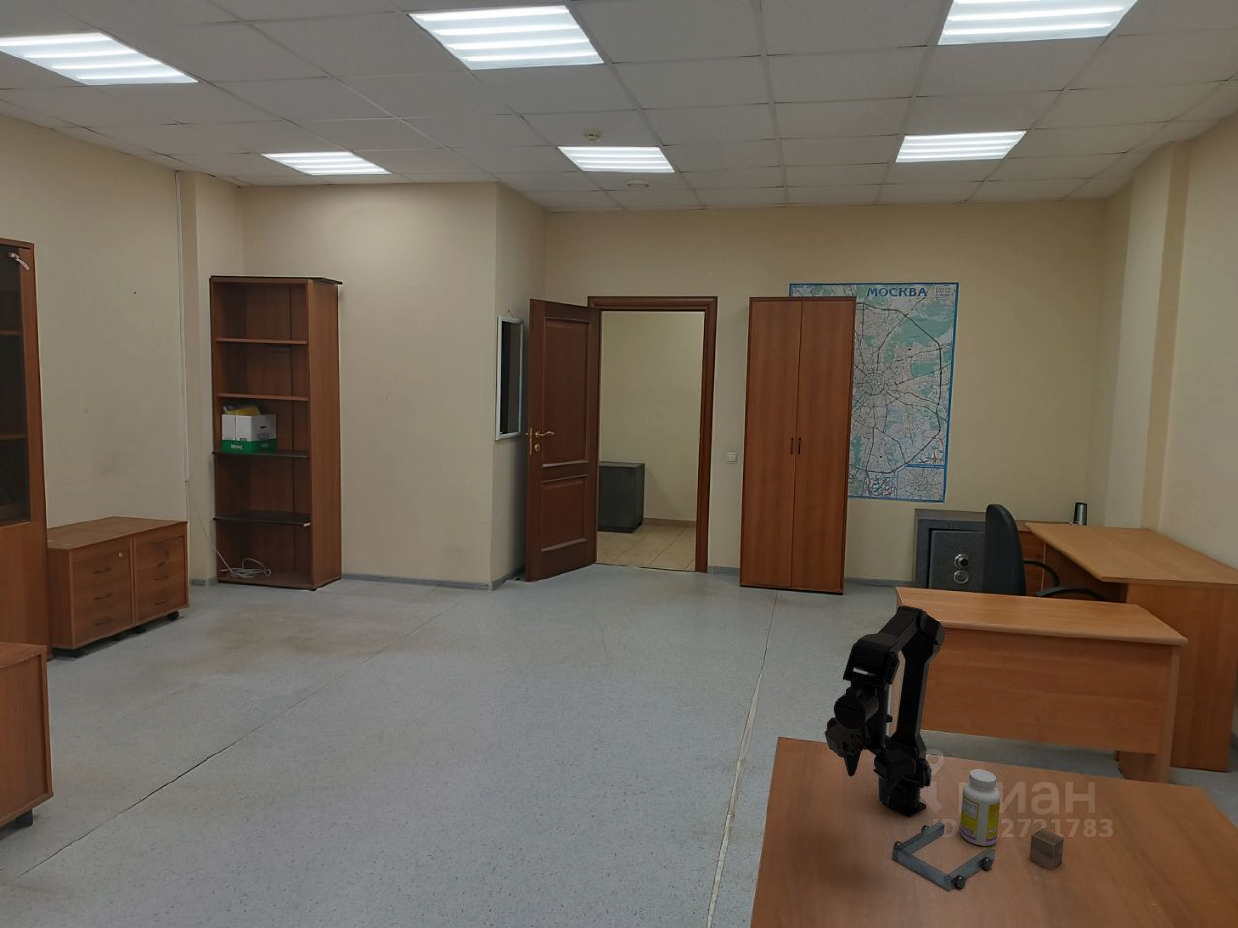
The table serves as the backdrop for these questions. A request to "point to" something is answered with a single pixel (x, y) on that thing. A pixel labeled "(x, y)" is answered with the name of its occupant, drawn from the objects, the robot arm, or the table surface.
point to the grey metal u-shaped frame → (947, 881)
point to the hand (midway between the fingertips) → (866, 788)
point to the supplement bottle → (980, 808)
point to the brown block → (1046, 849)
